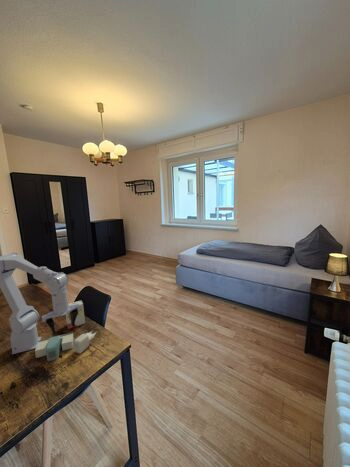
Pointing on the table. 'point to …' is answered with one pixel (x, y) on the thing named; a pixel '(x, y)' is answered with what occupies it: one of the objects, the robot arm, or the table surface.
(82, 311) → the ink box
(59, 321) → the table surface
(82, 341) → the power adapter
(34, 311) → the robot arm
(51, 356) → the grey-green boxy piece
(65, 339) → the block
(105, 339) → the table surface
